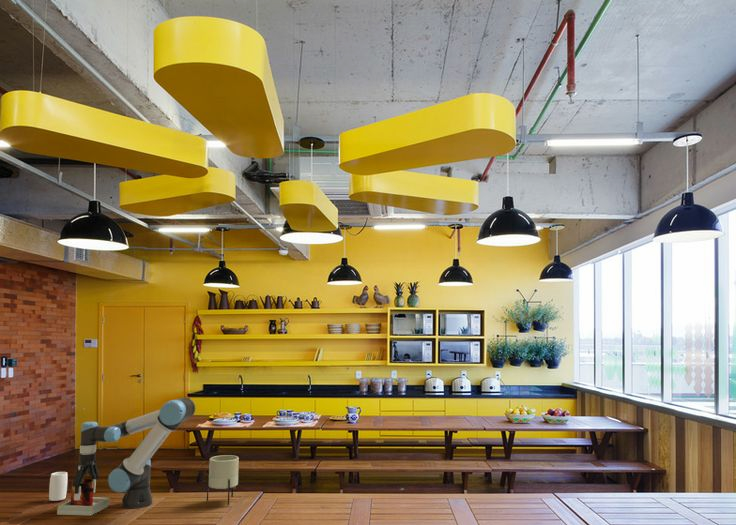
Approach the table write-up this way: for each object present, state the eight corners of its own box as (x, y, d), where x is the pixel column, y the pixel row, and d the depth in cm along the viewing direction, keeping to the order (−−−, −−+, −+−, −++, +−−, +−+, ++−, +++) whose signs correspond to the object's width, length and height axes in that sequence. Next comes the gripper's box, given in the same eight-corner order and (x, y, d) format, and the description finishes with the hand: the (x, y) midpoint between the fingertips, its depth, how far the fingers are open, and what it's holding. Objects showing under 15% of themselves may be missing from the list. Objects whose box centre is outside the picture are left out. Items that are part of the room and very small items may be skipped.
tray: (109, 505, 293) (109, 497, 293) (92, 515, 277) (92, 507, 278) (75, 504, 294) (76, 496, 295) (57, 514, 278) (57, 506, 279)
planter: (243, 500, 304) (245, 456, 307) (225, 508, 290) (226, 462, 293) (221, 497, 310) (222, 453, 313) (201, 504, 296) (203, 459, 299)
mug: (91, 509, 280) (92, 484, 282) (65, 508, 282) (67, 483, 284) (103, 503, 289) (104, 479, 291) (78, 502, 292) (80, 478, 293)
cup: (44, 502, 298) (46, 474, 299) (55, 498, 306) (57, 471, 308) (58, 503, 296) (60, 475, 298) (69, 499, 304) (71, 471, 306)
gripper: (93, 448, 302) (91, 489, 299) (66, 458, 277) (62, 503, 274) (107, 448, 301) (104, 489, 299) (80, 458, 277) (77, 503, 274)
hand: (84, 496), depth 287 cm, fingers open, 13 cm apart
